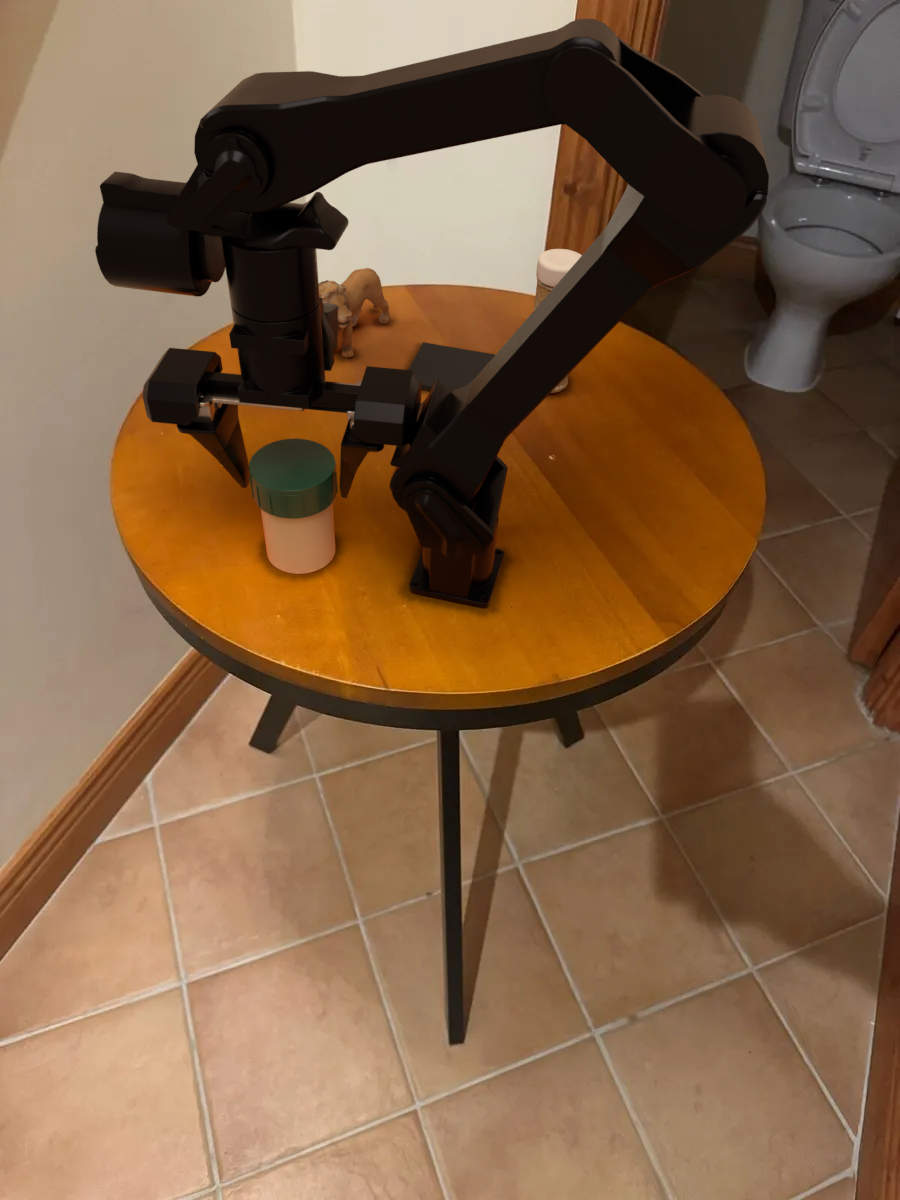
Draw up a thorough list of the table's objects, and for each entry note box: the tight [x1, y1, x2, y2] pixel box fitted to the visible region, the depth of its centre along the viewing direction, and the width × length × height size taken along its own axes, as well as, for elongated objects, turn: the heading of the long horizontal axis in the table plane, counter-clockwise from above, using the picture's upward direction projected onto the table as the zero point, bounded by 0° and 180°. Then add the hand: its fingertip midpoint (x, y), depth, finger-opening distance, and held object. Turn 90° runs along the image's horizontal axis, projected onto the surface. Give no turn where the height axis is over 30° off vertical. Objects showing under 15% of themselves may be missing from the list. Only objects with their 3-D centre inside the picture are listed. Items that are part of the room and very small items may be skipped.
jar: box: [260, 502, 337, 575], centre depth 71 cm, size 6×6×8 cm
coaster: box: [407, 342, 496, 392], centre depth 94 cm, size 8×8×1 cm
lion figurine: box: [319, 267, 391, 359], centre depth 95 cm, size 15×5×9 cm, turn 163°
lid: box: [248, 438, 339, 519], centre depth 69 cm, size 6×6×3 cm
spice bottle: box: [533, 248, 583, 394], centre depth 89 cm, size 5×5×13 cm
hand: (295, 489), depth 70 cm, fingers open, 7 cm apart
